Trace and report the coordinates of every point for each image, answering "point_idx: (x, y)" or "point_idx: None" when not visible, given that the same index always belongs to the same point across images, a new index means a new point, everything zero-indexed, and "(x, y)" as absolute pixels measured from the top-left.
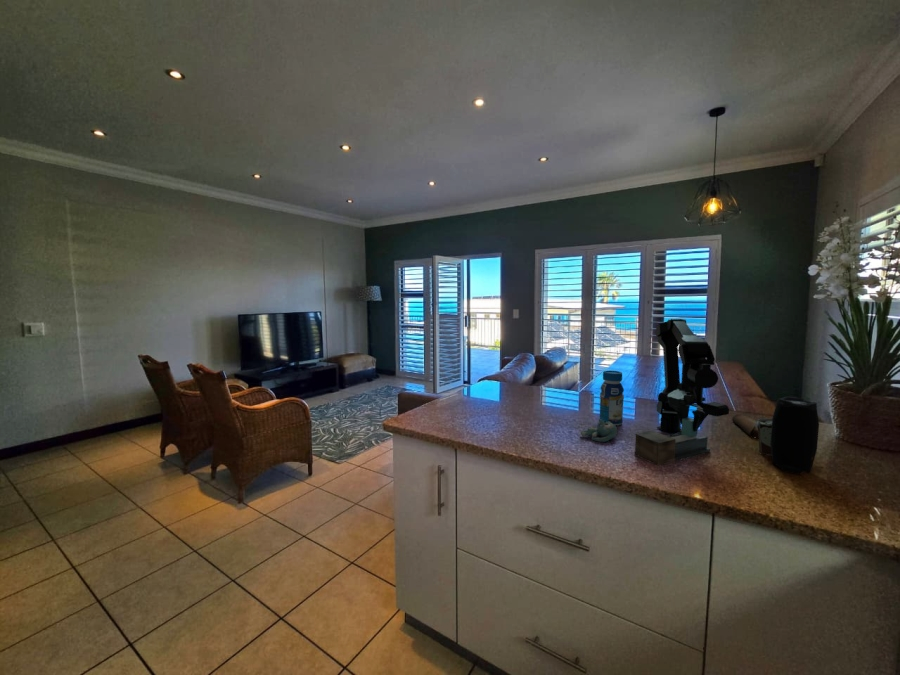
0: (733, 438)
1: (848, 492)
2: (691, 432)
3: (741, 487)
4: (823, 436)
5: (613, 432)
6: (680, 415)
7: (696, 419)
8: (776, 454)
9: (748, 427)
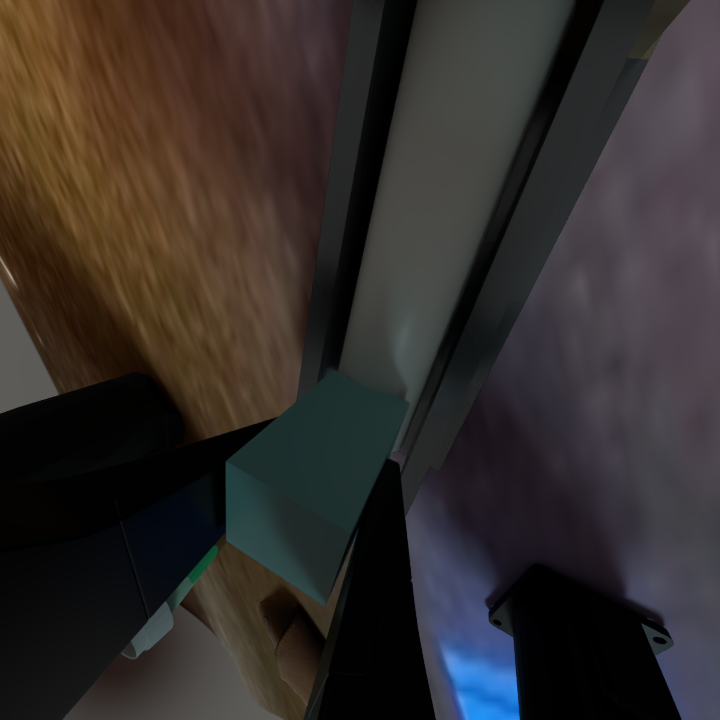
0: None
1: (60, 334)
2: (312, 393)
3: (89, 52)
4: (228, 641)
5: None
6: (370, 607)
7: (138, 473)
8: (107, 406)
9: (298, 656)
